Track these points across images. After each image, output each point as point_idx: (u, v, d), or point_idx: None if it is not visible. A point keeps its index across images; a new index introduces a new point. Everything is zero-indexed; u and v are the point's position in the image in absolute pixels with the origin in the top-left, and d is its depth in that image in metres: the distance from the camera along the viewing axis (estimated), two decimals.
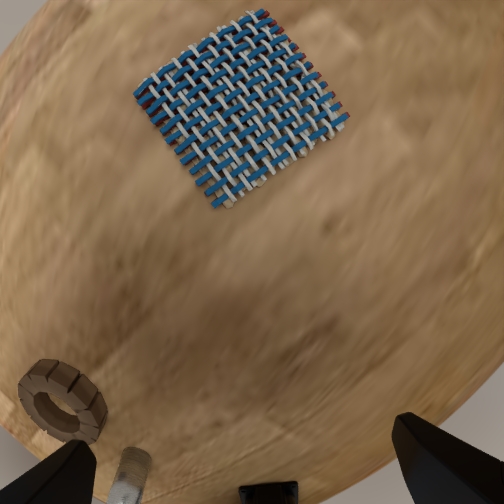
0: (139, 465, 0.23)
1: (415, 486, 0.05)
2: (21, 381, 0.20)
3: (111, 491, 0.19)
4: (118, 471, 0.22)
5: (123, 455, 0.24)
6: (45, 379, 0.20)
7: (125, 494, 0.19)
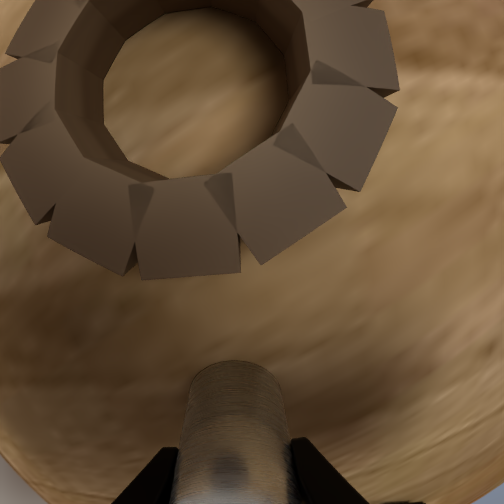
0: (287, 430, 0.07)
1: None
2: None
3: None
4: (227, 440, 0.06)
5: (224, 382, 0.08)
6: None
7: None
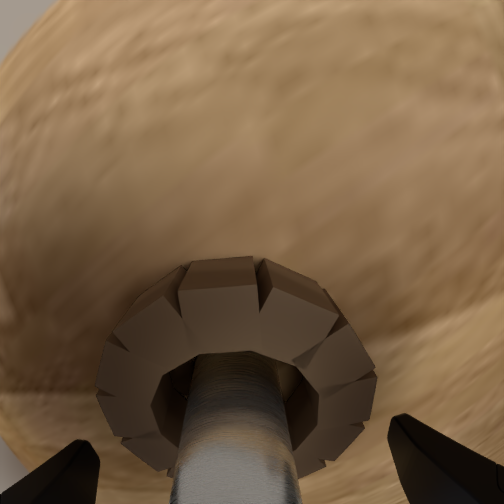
0: (281, 396, 0.09)
1: (411, 488, 0.05)
2: (199, 295, 0.07)
3: (219, 480, 0.05)
4: (228, 398, 0.07)
5: (226, 354, 0.10)
6: (329, 325, 0.08)
7: (293, 499, 0.05)
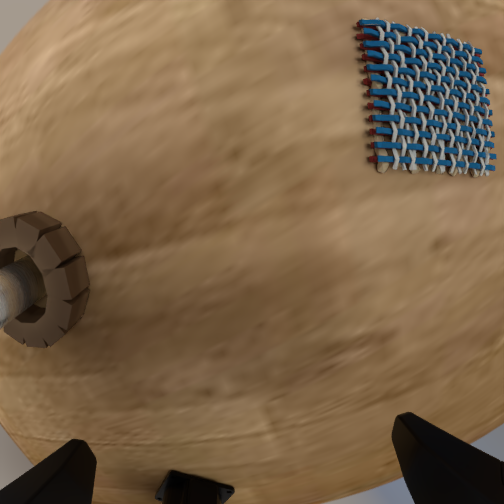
0: (35, 277, 0.16)
1: (415, 486, 0.05)
2: None
3: None
4: (5, 267, 0.14)
5: None
6: (37, 235, 0.15)
7: None
